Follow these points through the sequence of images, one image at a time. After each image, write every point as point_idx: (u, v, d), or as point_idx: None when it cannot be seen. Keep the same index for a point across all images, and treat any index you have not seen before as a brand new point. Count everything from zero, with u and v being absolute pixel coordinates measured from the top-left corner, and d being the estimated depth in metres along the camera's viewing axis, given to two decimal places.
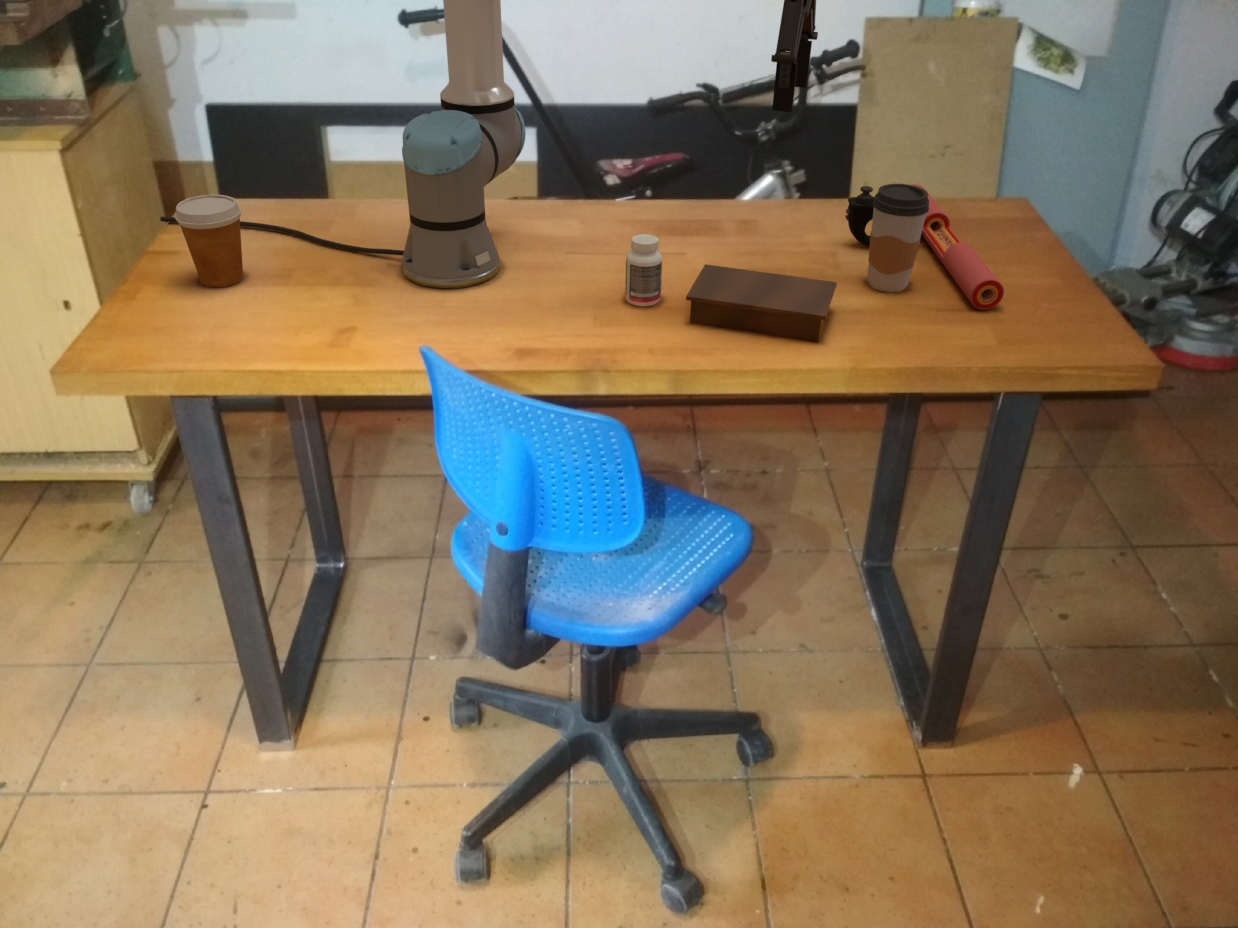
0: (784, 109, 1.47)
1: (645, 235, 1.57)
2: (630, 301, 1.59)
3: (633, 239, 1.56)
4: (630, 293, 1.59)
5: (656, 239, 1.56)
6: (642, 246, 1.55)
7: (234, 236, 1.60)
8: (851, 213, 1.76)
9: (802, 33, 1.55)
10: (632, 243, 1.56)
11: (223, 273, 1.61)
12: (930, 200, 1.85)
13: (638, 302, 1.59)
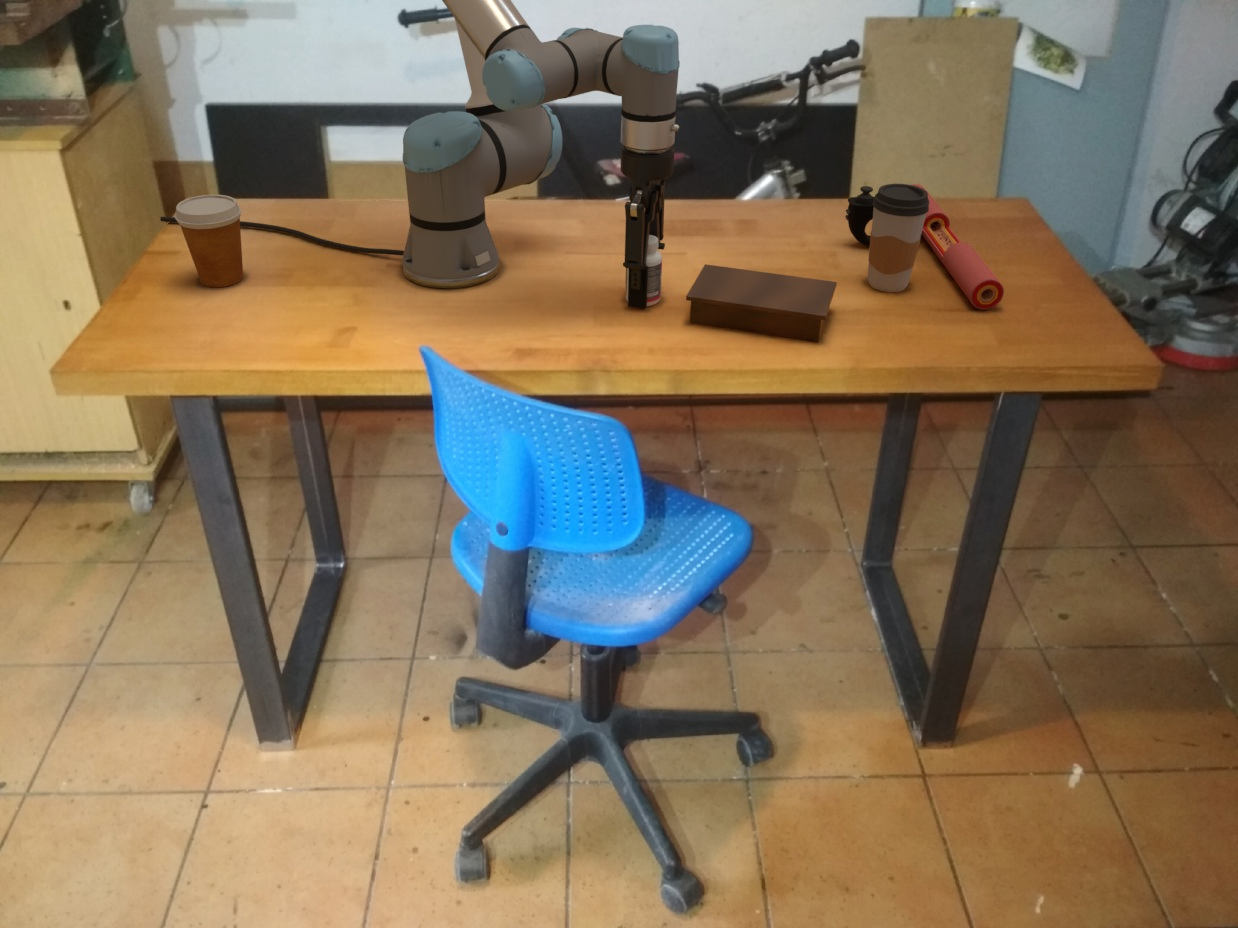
0: (638, 306, 1.58)
1: None
2: None
3: None
4: None
5: (656, 239, 1.56)
6: None
7: (234, 236, 1.60)
8: (851, 213, 1.76)
9: None
10: None
11: (223, 273, 1.61)
12: (930, 200, 1.85)
13: None
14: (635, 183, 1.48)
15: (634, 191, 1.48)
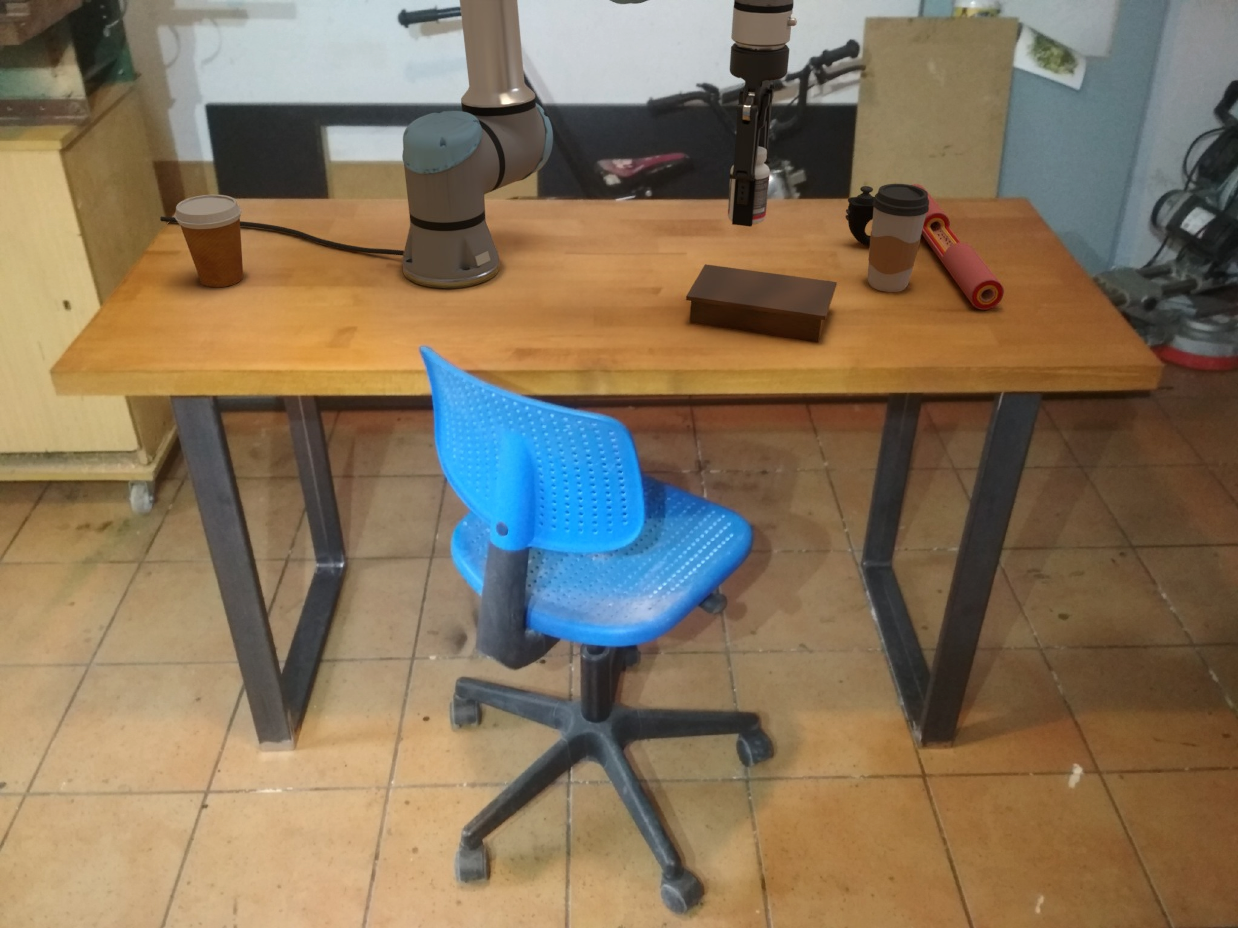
0: (744, 223, 1.47)
1: None
2: None
3: None
4: None
5: (764, 150, 1.44)
6: None
7: (234, 236, 1.60)
8: (851, 213, 1.76)
9: None
10: None
11: (223, 273, 1.61)
12: (930, 200, 1.85)
13: None
14: (747, 84, 1.36)
15: (746, 93, 1.36)
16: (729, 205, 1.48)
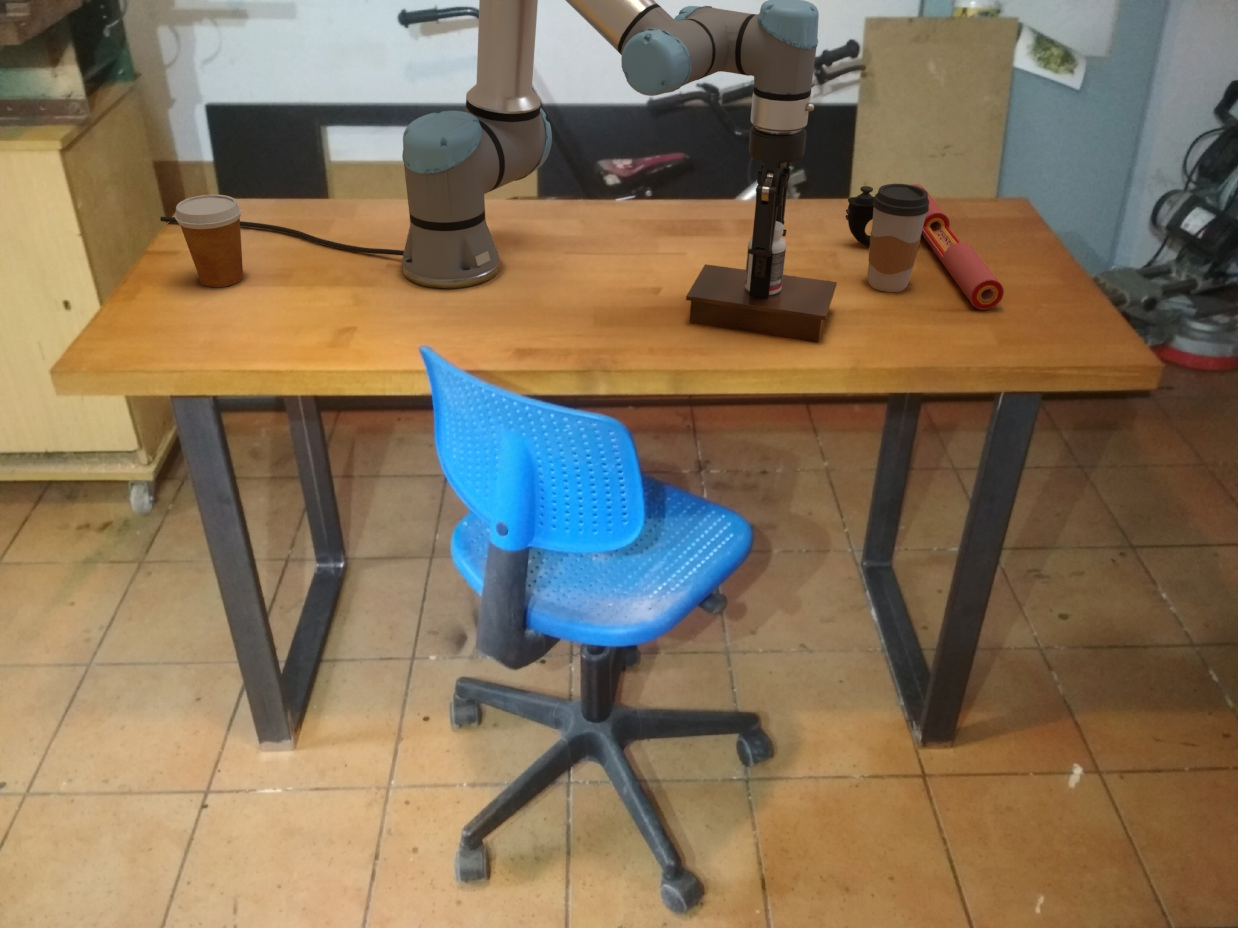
0: (761, 295, 1.52)
1: None
2: None
3: None
4: None
5: (781, 225, 1.49)
6: None
7: (234, 236, 1.60)
8: (851, 213, 1.76)
9: None
10: None
11: (223, 273, 1.61)
12: (930, 200, 1.85)
13: None
14: (766, 165, 1.41)
15: (765, 174, 1.41)
16: (746, 276, 1.53)
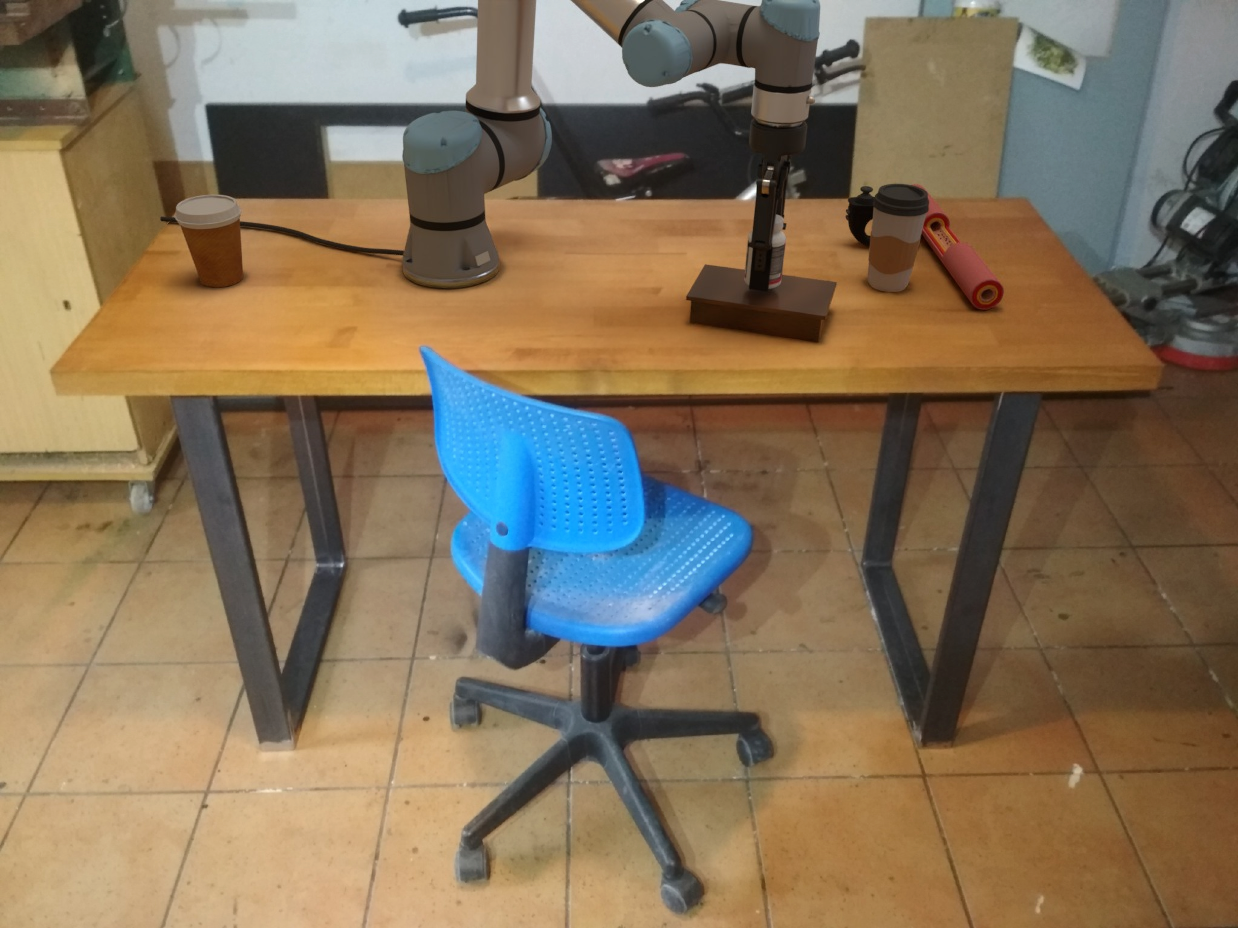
0: (760, 288, 1.51)
1: None
2: None
3: None
4: None
5: (781, 218, 1.49)
6: None
7: (234, 236, 1.60)
8: (851, 213, 1.76)
9: None
10: None
11: (223, 273, 1.61)
12: (930, 200, 1.85)
13: None
14: (766, 158, 1.41)
15: (765, 167, 1.41)
16: (746, 270, 1.53)
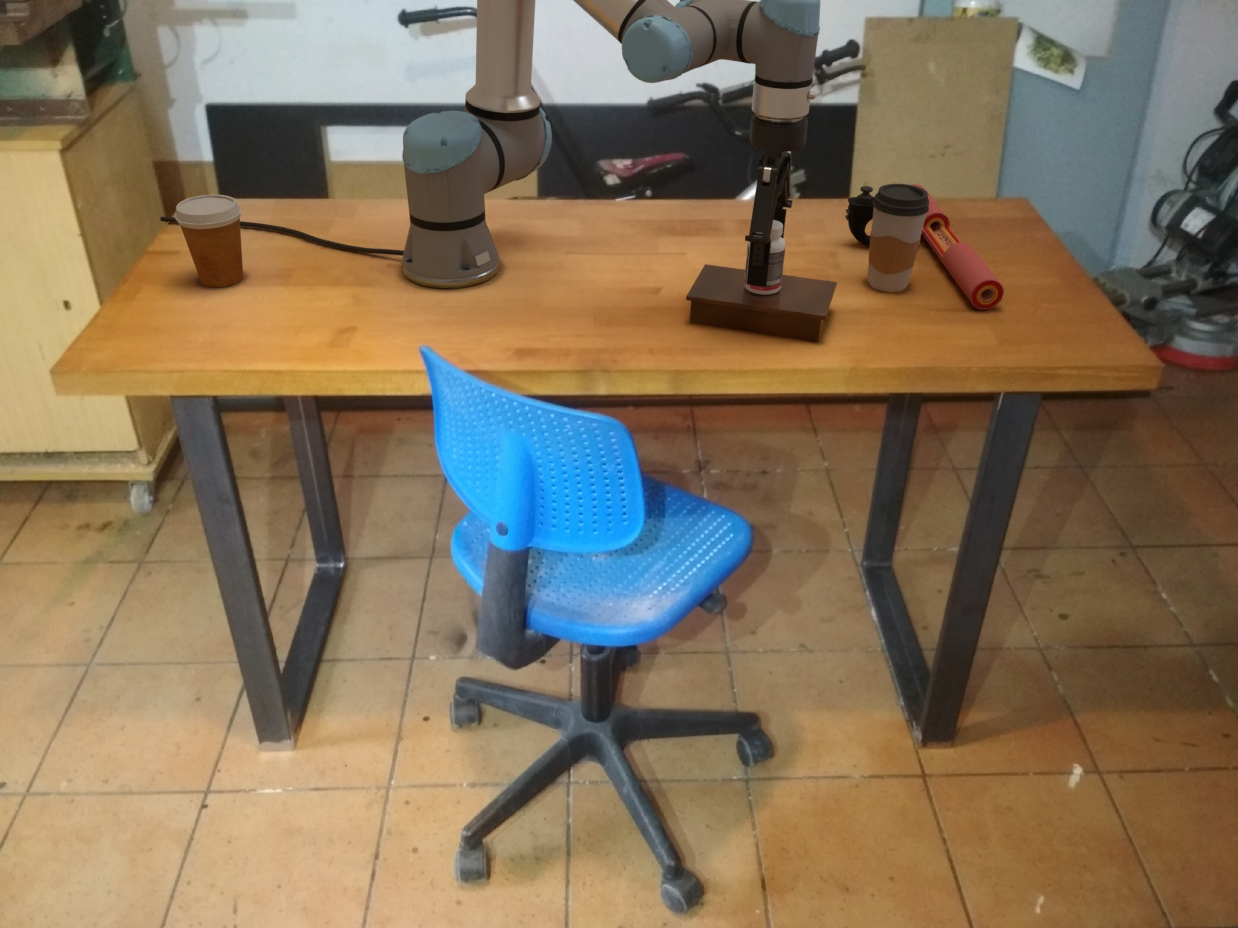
0: (758, 284, 1.47)
1: None
2: (750, 289, 1.53)
3: None
4: None
5: (780, 224, 1.49)
6: None
7: (234, 236, 1.60)
8: (851, 213, 1.76)
9: (776, 201, 1.54)
10: None
11: (223, 273, 1.61)
12: (930, 200, 1.85)
13: (759, 290, 1.52)
14: (767, 154, 1.40)
15: (766, 160, 1.41)
16: (746, 276, 1.53)
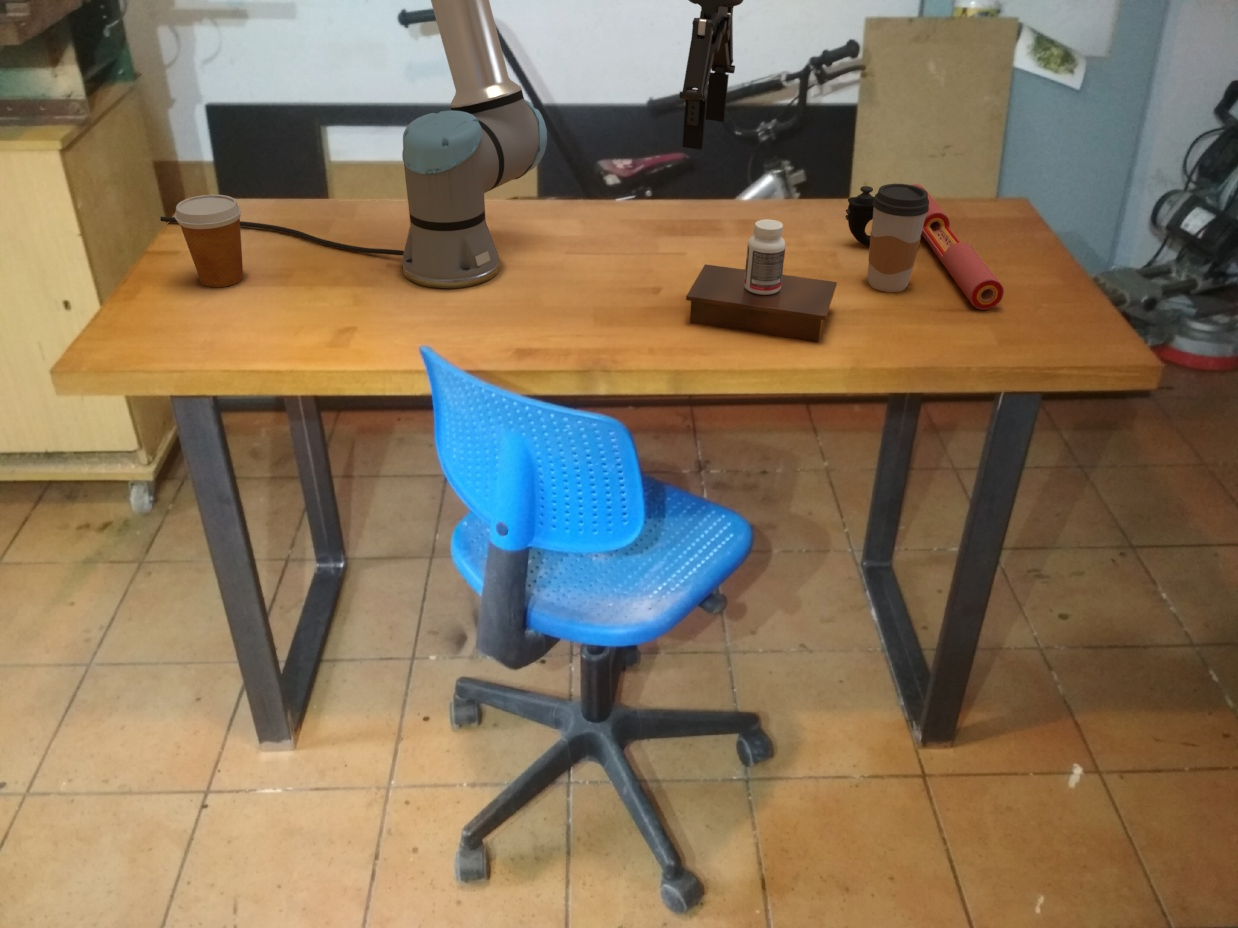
0: (694, 146, 1.44)
1: (768, 220, 1.51)
2: (750, 289, 1.53)
3: (757, 224, 1.49)
4: (750, 281, 1.52)
5: (781, 224, 1.49)
6: (767, 232, 1.48)
7: (234, 236, 1.60)
8: (851, 213, 1.76)
9: (719, 66, 1.52)
10: (756, 228, 1.49)
11: (223, 273, 1.61)
12: (930, 200, 1.85)
13: (759, 290, 1.52)
14: (703, 9, 1.38)
15: (703, 15, 1.38)
16: (746, 276, 1.53)
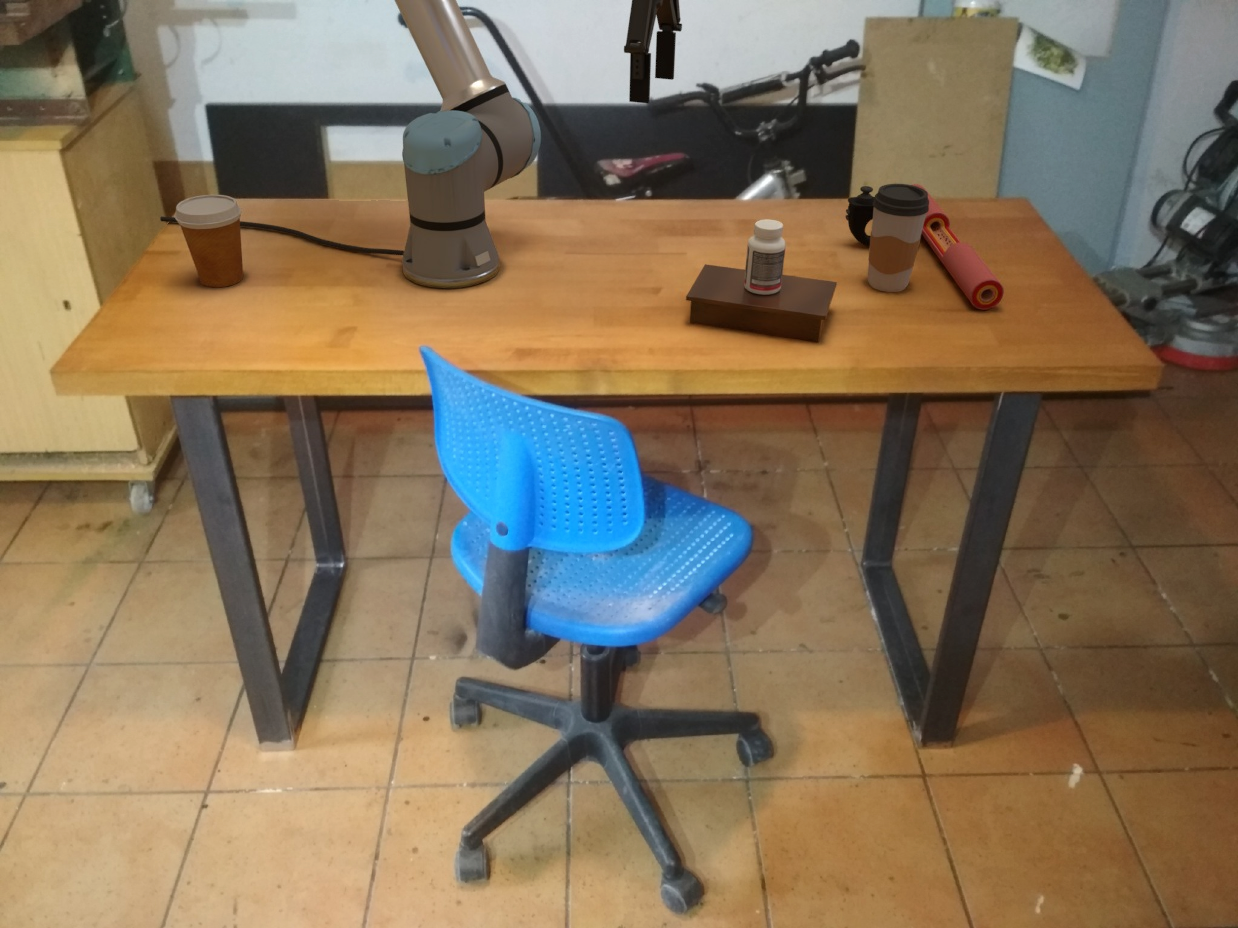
0: (641, 100, 1.47)
1: (768, 220, 1.51)
2: (750, 289, 1.53)
3: (757, 224, 1.49)
4: (750, 281, 1.52)
5: (781, 224, 1.49)
6: (767, 232, 1.48)
7: (234, 236, 1.60)
8: (851, 213, 1.76)
9: (666, 25, 1.55)
10: (756, 228, 1.49)
11: (223, 273, 1.61)
12: (930, 200, 1.85)
13: (759, 290, 1.52)
14: None
15: None
16: (746, 276, 1.53)
